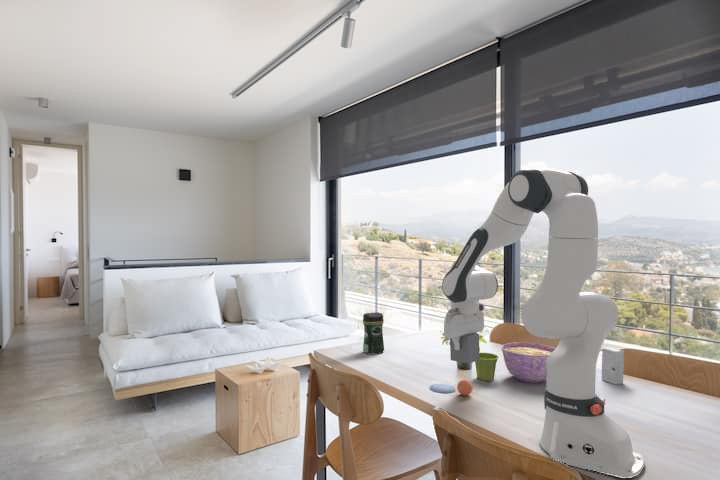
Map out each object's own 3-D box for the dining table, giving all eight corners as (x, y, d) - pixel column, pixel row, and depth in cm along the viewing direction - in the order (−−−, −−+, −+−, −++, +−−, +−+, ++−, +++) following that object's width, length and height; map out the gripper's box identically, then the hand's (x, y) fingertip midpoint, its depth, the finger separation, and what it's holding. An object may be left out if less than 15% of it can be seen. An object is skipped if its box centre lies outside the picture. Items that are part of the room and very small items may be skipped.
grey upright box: (479, 359, 146) (478, 333, 147) (468, 363, 142) (468, 336, 142) (461, 356, 151) (461, 331, 152) (450, 360, 147) (450, 334, 147)
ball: (475, 395, 145) (475, 380, 145) (467, 398, 142) (467, 383, 142) (462, 391, 149) (462, 377, 149) (454, 395, 145) (454, 380, 145)
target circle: (460, 388, 152) (460, 388, 152) (445, 395, 145) (445, 394, 145) (439, 382, 158) (439, 382, 158) (424, 388, 152) (424, 388, 152)
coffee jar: (379, 349, 208) (378, 310, 208) (386, 353, 200) (386, 313, 200) (360, 351, 204) (360, 312, 204) (367, 355, 196) (367, 314, 197)
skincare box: (600, 379, 161) (600, 347, 161) (610, 378, 162) (610, 346, 162) (615, 385, 155) (614, 351, 155) (624, 383, 156) (624, 350, 157)
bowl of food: (568, 388, 152) (568, 355, 152) (512, 388, 152) (512, 355, 152) (544, 371, 172) (544, 342, 172) (494, 371, 172) (494, 342, 172)
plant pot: (500, 383, 157) (499, 359, 157) (473, 381, 159) (473, 358, 159) (497, 375, 166) (497, 353, 166) (472, 374, 168) (472, 352, 168)
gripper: (455, 310, 138) (456, 354, 137) (486, 305, 152) (487, 344, 152) (438, 309, 142) (439, 351, 142) (471, 303, 157) (472, 342, 156)
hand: (464, 347), depth 147 cm, fingers closed on grey upright box, 7 cm apart
